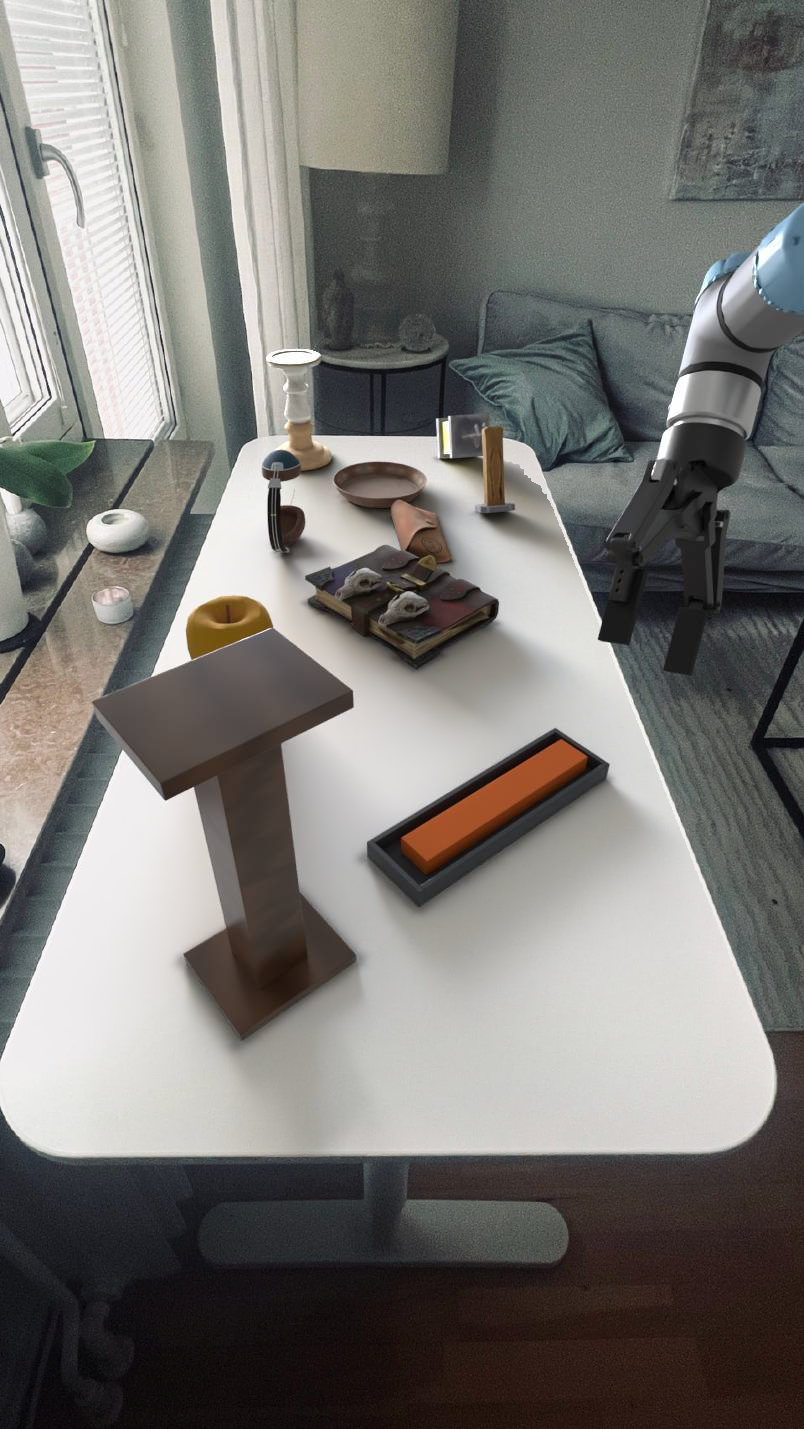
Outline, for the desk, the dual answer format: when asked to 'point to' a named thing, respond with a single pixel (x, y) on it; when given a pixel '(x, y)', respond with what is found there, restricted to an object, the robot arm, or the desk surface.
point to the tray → (425, 887)
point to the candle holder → (299, 407)
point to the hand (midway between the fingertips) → (647, 659)
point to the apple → (224, 623)
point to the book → (403, 602)
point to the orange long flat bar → (492, 806)
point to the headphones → (281, 519)
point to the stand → (241, 809)
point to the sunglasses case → (419, 532)
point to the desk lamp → (477, 453)
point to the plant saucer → (379, 483)
